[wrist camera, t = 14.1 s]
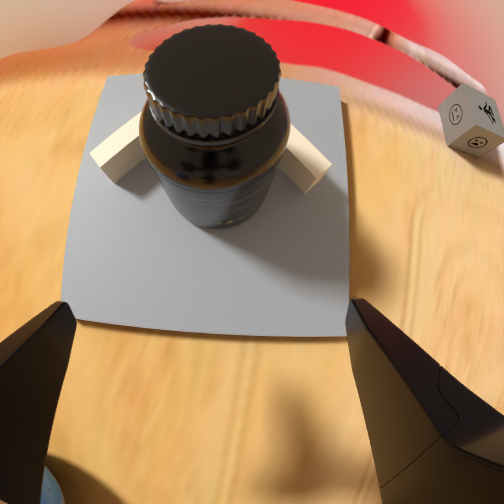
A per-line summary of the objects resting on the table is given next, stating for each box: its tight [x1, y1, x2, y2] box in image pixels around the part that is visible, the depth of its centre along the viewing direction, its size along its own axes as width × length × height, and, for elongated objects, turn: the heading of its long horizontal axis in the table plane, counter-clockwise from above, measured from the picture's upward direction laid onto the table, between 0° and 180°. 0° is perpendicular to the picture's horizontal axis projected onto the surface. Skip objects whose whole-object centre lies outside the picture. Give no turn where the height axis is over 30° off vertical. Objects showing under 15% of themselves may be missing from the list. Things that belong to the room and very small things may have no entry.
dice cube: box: [438, 83, 504, 157], centre depth 23 cm, size 5×5×5 cm
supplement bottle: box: [139, 24, 291, 229], centre depth 15 cm, size 7×7×12 cm
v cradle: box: [61, 74, 350, 337], centre depth 20 cm, size 20×20×4 cm
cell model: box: [40, 466, 65, 504], centre depth 12 cm, size 10×12×10 cm
